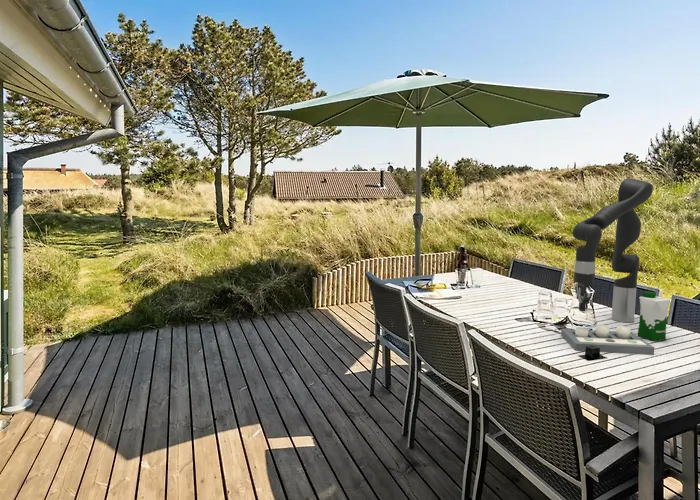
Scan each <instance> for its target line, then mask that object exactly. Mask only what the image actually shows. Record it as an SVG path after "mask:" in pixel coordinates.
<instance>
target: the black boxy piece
mask: <svg viewBox="0 0 700 500" xmlns="http://www.w3.org/2000/svg"><path fill="white" fill-rule="evenodd" d="M577 355H578V356H577V357H579V358H581V359H583V360H585V361H587V362H591V361H599V360H605V359H608V357H607V356H605V355H602V354H601V352H600V348H599V347H597V346H594V345H591V346H586V349H585V351H584V353H583V354H580V355H579V354H577Z"/></svg>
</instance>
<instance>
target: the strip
mask: <svg viewBox="0 0 700 500" xmlns="http://www.w3.org/2000/svg"><path fill="white" fill-rule="evenodd" d="M576 339H577V340H578V341H579V342H581V343H601V344H621V345H642V346H647V345H646V344H645V343H643V342H642V341H640V340H624V339H602V338H581V337H576Z"/></svg>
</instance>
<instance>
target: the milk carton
mask: <svg viewBox="0 0 700 500" xmlns="http://www.w3.org/2000/svg"><path fill="white" fill-rule="evenodd" d="M638 299H639V303H640V308H639V309H640V311H639V323H638V324H639V325H638V330H637V335H636V336H638V337H639V338H641V339H643V340H648V341H650V342H653V343H654V342H660V341H665V340H667V339H666V333H667V320H668V309H669V306H670V303H671V299H669V298H666V297H661V296H657V292H654V291H651V290H650V291H647V290H646V291H644V293H643V296H642V295H641V296H639V298H638Z"/></svg>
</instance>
